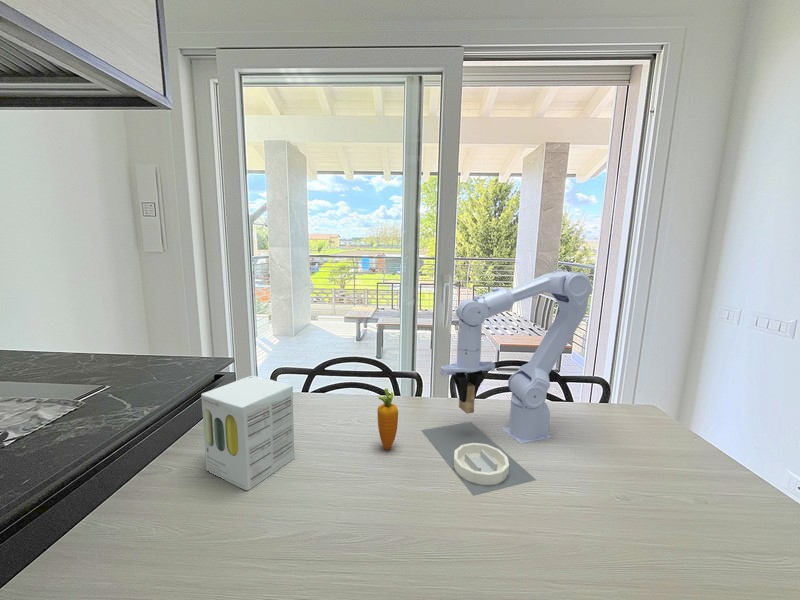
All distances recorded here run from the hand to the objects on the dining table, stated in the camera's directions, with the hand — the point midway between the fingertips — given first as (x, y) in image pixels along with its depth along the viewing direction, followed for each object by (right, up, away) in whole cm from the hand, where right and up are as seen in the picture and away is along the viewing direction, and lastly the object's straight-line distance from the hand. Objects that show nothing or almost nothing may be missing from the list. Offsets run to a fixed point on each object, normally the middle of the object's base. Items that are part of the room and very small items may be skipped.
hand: (466, 400), depth 88 cm
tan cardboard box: (0, -3, 0) cm, 3 cm away
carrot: (-20, -11, -6) cm, 23 cm away
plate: (+1, -11, -13) cm, 17 cm away
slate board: (0, -11, -6) cm, 13 cm away
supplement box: (-50, -11, -12) cm, 52 cm away
